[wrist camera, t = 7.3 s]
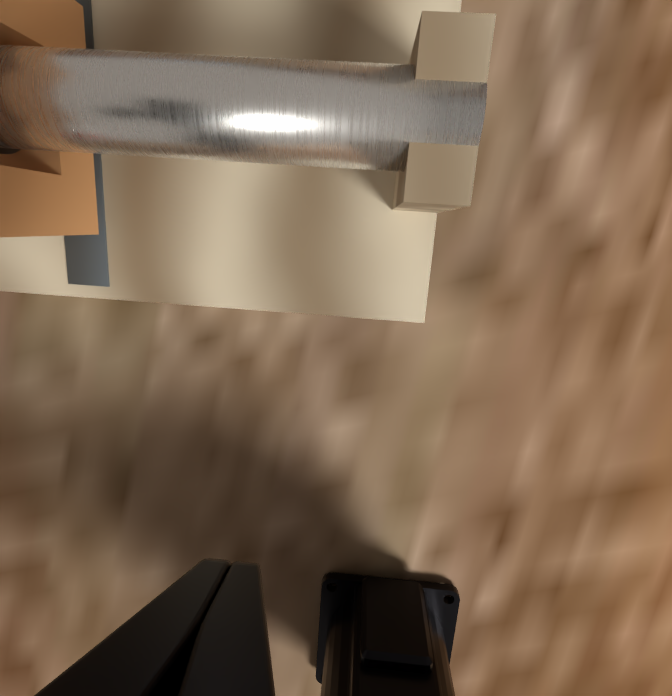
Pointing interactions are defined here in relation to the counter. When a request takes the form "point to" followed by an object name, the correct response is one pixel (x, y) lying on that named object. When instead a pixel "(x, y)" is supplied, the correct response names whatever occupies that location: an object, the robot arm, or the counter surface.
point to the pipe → (229, 107)
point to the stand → (269, 175)
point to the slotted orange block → (39, 165)
